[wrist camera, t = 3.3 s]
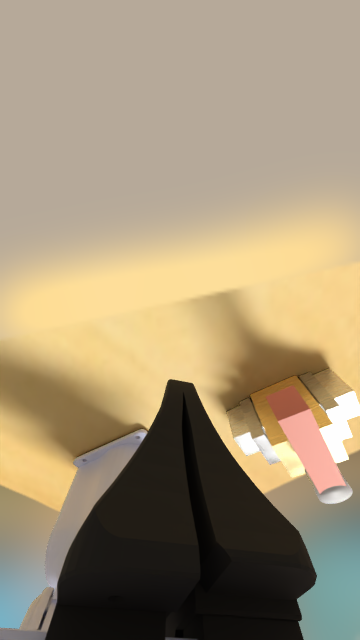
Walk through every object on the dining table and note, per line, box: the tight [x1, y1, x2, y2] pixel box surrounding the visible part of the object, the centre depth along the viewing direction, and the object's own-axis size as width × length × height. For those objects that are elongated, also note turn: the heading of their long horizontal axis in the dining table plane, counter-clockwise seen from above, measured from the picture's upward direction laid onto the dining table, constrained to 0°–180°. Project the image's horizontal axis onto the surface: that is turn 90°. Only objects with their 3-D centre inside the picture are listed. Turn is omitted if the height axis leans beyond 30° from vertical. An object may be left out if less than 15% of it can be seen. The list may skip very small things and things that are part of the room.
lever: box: [266, 385, 352, 504], centre depth 12 cm, size 9×2×2 cm, turn 31°
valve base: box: [227, 368, 360, 477], centre depth 17 cm, size 10×4×6 cm, turn 121°
